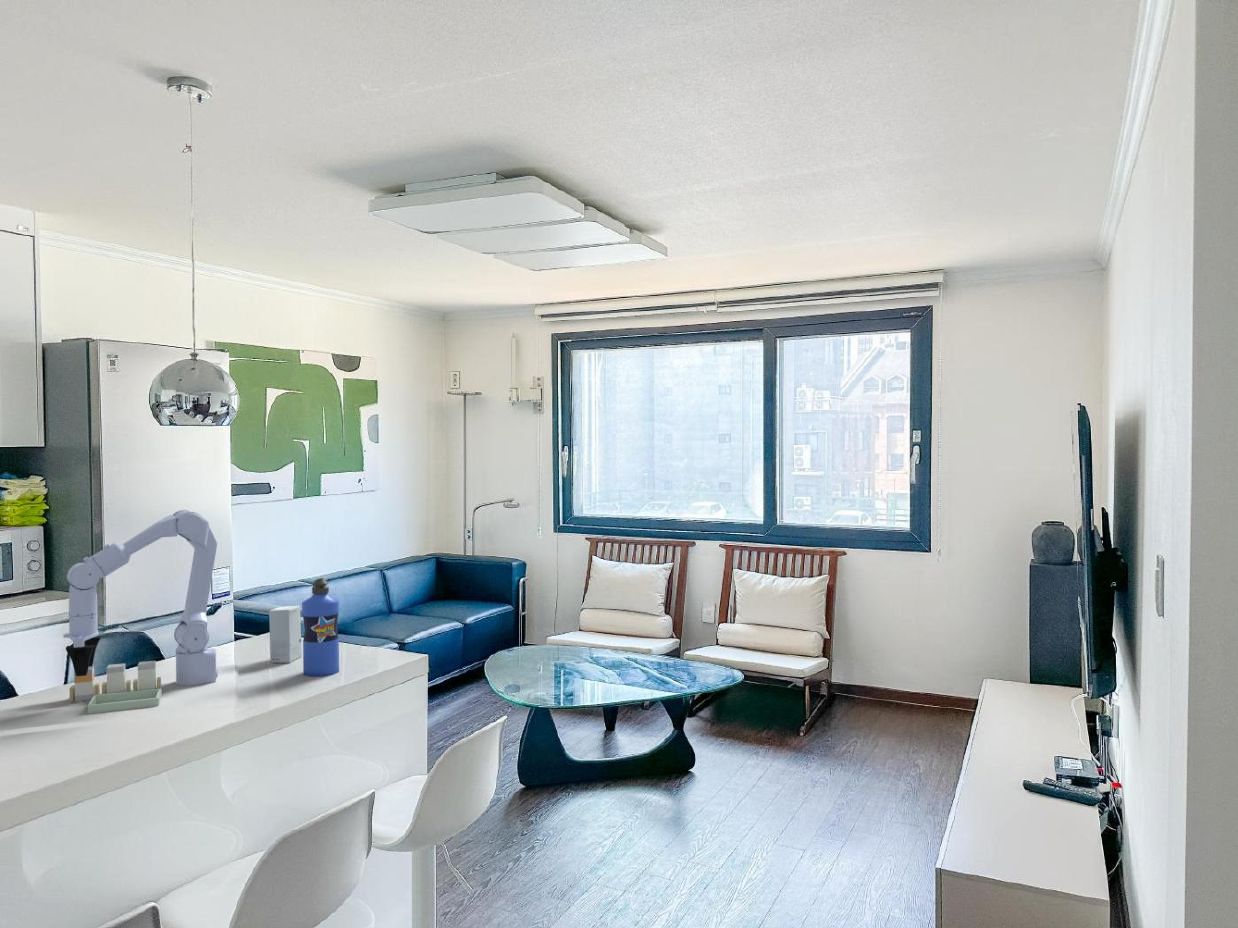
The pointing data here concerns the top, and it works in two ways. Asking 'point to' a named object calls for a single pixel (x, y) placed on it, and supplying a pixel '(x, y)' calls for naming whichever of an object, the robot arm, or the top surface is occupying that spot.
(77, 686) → the marked fuse
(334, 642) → the blue bottle
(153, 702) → the tray
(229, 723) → the top surface
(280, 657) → the skincare box
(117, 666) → the block
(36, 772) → the top surface
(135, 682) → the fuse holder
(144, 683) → the fuse near base
